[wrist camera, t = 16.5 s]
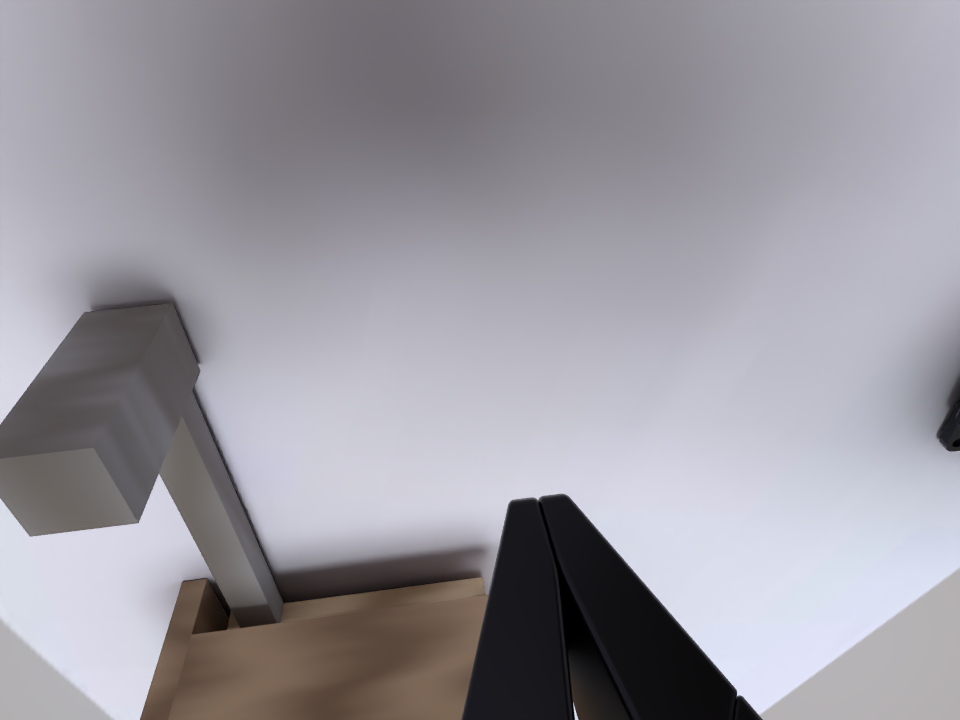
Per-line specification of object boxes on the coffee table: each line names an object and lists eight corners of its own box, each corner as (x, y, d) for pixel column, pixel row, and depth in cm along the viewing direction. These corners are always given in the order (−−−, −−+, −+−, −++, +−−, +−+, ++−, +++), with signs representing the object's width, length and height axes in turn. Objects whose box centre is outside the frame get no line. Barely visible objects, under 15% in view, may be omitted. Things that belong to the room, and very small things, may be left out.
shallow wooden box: (454, 273, 19) (475, 402, 14) (494, 704, 35) (510, 833, 30) (75, 313, 18) (-40, 463, 13) (296, 733, 34) (280, 868, 30)
